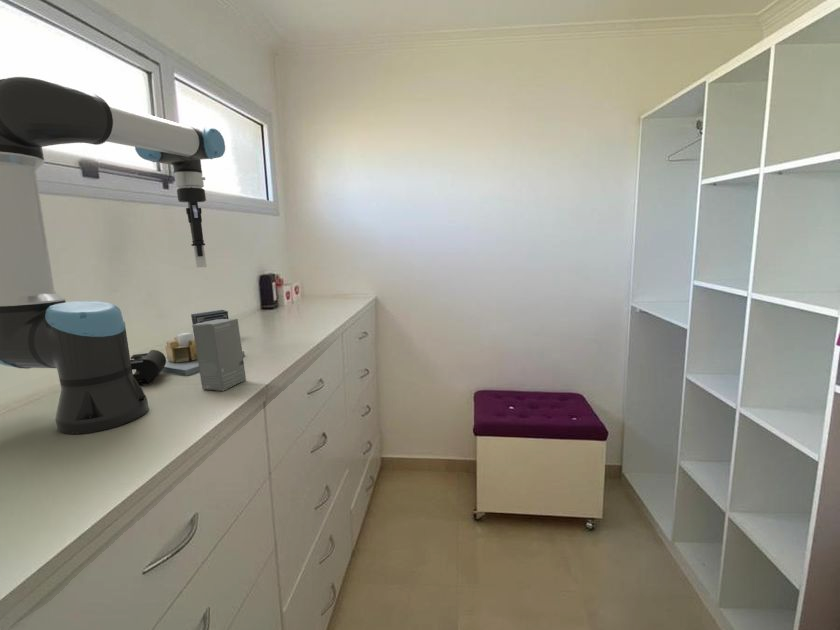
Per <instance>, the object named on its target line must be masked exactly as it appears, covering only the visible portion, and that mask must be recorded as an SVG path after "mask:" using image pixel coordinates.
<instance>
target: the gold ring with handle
mask: <svg viewBox="0 0 840 630" xmlns="http://www.w3.org/2000/svg"><path fill="white" fill-rule="evenodd" d="M188 341H189V345H188V346H179V343H178V336H175V337H173V340H170V341H166V346H165V350H166V357H167V359H168V361H171V362H185V361H190V360H196V359H198V358H197V351H196V345H195V339H192V340H188Z"/></svg>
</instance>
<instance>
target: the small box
mask: <svg viewBox="0 0 840 630" xmlns="http://www.w3.org/2000/svg"><path fill="white" fill-rule="evenodd" d="M228 311H229V310H228ZM228 311H227V310H225V309H220V310H218V309H217V310H213V311H212V310H211V311H205V312H198V313H191V315H190V316H191V320H192V321H191V322H192V325H193V324H198V323H202V322H206V321H212V320H217V319H230V317H229V312H228Z"/></svg>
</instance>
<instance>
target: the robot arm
mask: <svg viewBox="0 0 840 630" xmlns="http://www.w3.org/2000/svg"><path fill="white" fill-rule="evenodd" d="M107 142H108V143H114V144H117V145H118V144H119V145H124V146H129V147H133V148H134V150H135V152H136V153H137V155H138V157H140V158H142V159H143V160H146V161H149V162H152V163H159V164H163V165H164V164H165V165H171V166H173V174H174V175H173V176H174V183H175V187H176V188H177V189H176V194H177V201H178V202H179V203H187V206H188V207H186V208H185V212H186V215H187V221H188V223H189V227H190V233H191V238H192V239H191V240H192V241H191V242H192V243H191V246H192V247H193V253H194V258H195V267H196V268H207V260H206V253H205V247H204V246H206V243H205V239H204V236H203V227H202V222H203V221H202V220H203V219H202V211H203V210H202V207H199V203H204V202H206V201H207V199H206V198H207V197H206V191H205V189H204V188H205V185H204V181H206V177H205V176H203V170H202V162H201V160H213V159H218V158H221V157H223V156H224V155H225V152H226V144H225V138H224V136H223V134H222V133H221V132H220V130H218V129H217V128H214V127H204V128H203V127H202V128H196V127H193V126H189V125H185V124H181V123H178V122H174V121H171V120H168V119H165V118H160V117H158V116H154V115H151V114H147V113H144V112H140V111H136V110H134V109H130V108H126V107H123V106H119V105H116V104H113V103H109V102H107V100H106V99H105V98H104V97H102V96H101V95H100V94H97V93H94V92H90V91H87V90H84V89H80V88H78V87H74V86H70V85H66V84H63V83H59V82H55V81H51V80H47V79H44V78H37V77H30V76H12V77H7V78H0V365H2V366H5V367H13V368H16V369H27V370H28V369H56V370H57V374H58V375H57V376H58V378H59V379H58V380H59V383H60V384H59V385H60V395H59V399H58V405H57V409H56V413H55V414H56V415H55V424H56V428H57V431H58V432H59V433H63V434H69V435H74V434H75V435H78V434H89V433H93V432H100V431H104V430H108V429H112V428H116V427H119V426H122V425H125V424H127V423H130V422H132V421H134V420H137V419H139V418H140V417H142V416H144V415H145V414H146V413H148V411H149V402H148V397H147V395H146V394H145V392H144V391H143V389H142V387H141V386H139V384H138V382H137V381H136V379H135V377H134V376H133V374H134V372H133V370H132V367H131V361H130V360H131V356H130V349H129V343H128V342H129V341H128V337H127V336H128V335H127V329H126V323H125V320H124V318H123V314H122V311H121V309H120V308H119V307H118V306H117V305H115V304H113V303H111V302H105V301H92V300H91V301H89V300H88V301H79V300H78V301H67V302H66V298H65V297H63V296H62V295H61V294H59V293H57V292H56V291H55V285H54V280H53V279H54V278H53V273H52V266H51V261H50V253H49V248H48V242H47V241H48V240H47V235H46V227H45V223H44V222H45V221H44V216H43V209H42V202H41V195H40V191H39V190H40V189H39V183H38V178H37V177H38V176H37V170H38V169H39V168H40V167H41V166H42V165H43V166H44V164H45V158H44V151H43V147H44V148H45V147H48V146H49V147H50V146H57V145H66V144H67V145H68V144H83V143H84V144H89V145H96V146H97V145H98V146H99V145H103V144H105V143H107Z"/></svg>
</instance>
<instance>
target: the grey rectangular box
mask: <svg viewBox="0 0 840 630" xmlns="http://www.w3.org/2000/svg"><path fill="white" fill-rule="evenodd" d="M238 319H239V318H229V319H217V320H212V321H206V322H202V323H198V324H192V325H191V326H192V330H193V332H192V333H193V336H194V339H195V345H196V351H197V358H198V364H199V370H200V371H199V377H200V382H201V388H202V390H211V391H219V392H220V391H221V392H224V390H225V391H227V390H228V388H229V389H230V387H231V388H233V387H235V386H237V385H238V383H239V384H241V383H242V382H245V381H246V380H247V377H246V370H245V362H244V356H243V354H242V351H243V348H242V342H241V341H242V340H241V334H240V333H241V332H240V327H239V320H238ZM240 382H241V383H240ZM236 384H237V385H236ZM234 385H235V386H234ZM232 386H233V387H232Z"/></svg>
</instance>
